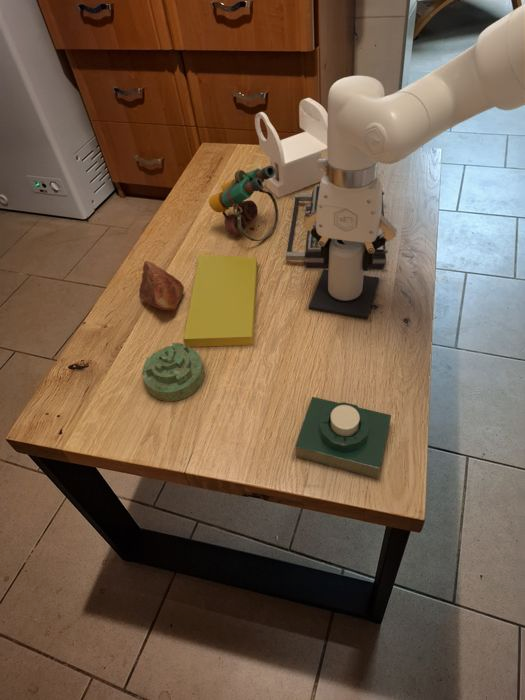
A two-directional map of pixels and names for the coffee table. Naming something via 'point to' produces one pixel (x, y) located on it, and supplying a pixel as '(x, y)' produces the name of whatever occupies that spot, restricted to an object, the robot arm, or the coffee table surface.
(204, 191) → the coffee table surface
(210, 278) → the flat olive board
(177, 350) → the decorative artifact
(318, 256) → the radio
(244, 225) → the binoculars
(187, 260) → the coffee table surface
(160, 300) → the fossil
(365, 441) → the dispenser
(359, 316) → the coaster
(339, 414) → the cylinder
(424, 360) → the coffee table surface
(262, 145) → the tape dispenser
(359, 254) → the beverage can
